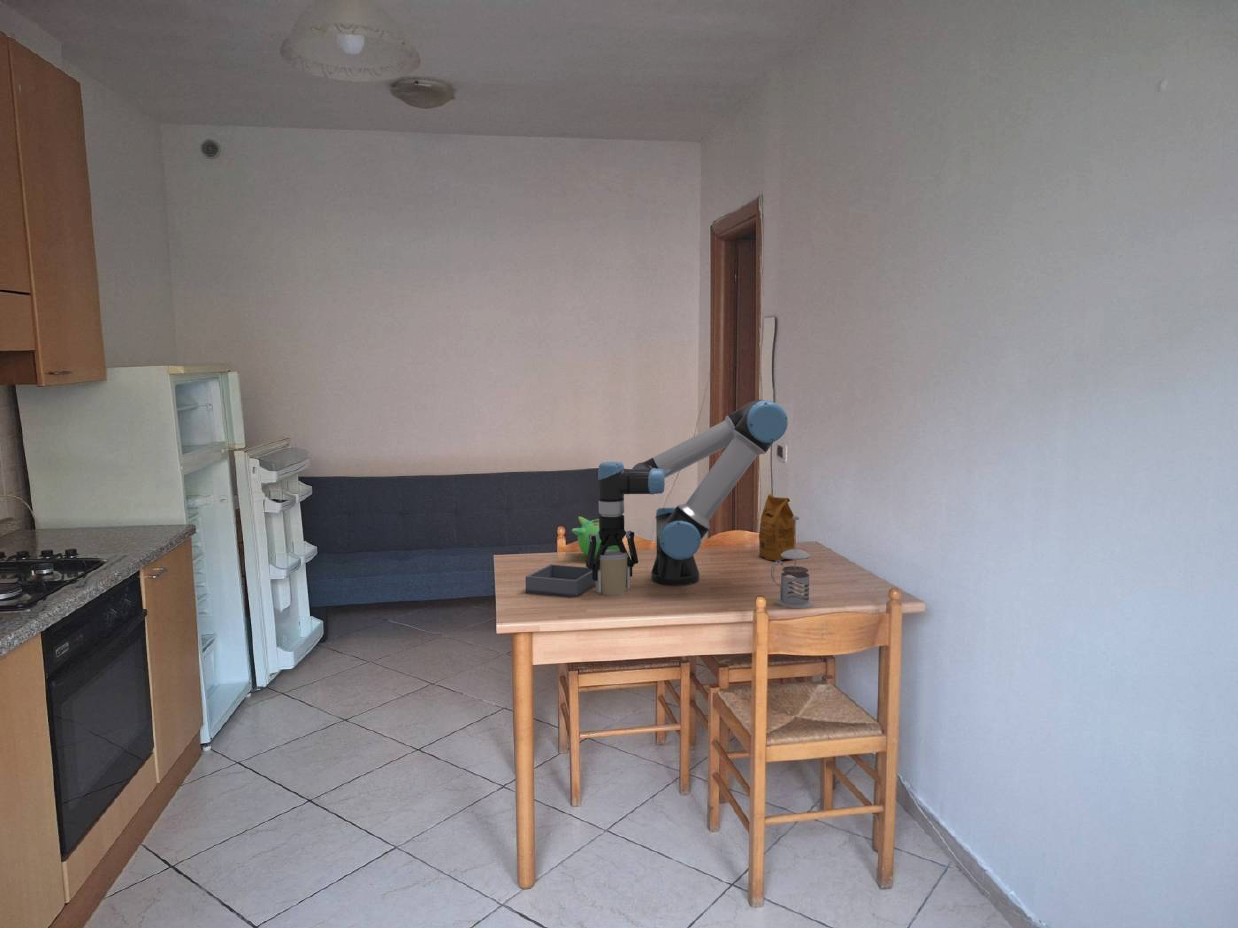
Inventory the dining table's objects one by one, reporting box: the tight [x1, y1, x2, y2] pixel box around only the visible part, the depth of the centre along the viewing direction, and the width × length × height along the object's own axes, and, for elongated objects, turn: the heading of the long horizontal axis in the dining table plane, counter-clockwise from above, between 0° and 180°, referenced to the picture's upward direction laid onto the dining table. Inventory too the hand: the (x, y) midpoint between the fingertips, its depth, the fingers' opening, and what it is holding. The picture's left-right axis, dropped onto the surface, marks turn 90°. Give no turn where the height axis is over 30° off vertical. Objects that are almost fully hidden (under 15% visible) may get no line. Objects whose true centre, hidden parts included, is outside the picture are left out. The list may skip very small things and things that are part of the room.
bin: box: [525, 563, 595, 598], centre depth 246 cm, size 17×17×5 cm
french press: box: [770, 514, 814, 609], centre depth 226 cm, size 10×12×25 cm
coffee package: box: [758, 493, 795, 562], centre depth 281 cm, size 10×12×22 cm
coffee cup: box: [598, 550, 629, 597], centre depth 240 cm, size 9×9×12 cm
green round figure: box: [571, 516, 619, 560], centre depth 285 cm, size 18×17×15 cm
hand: (612, 589), depth 241 cm, fingers closed on coffee cup, 9 cm apart
